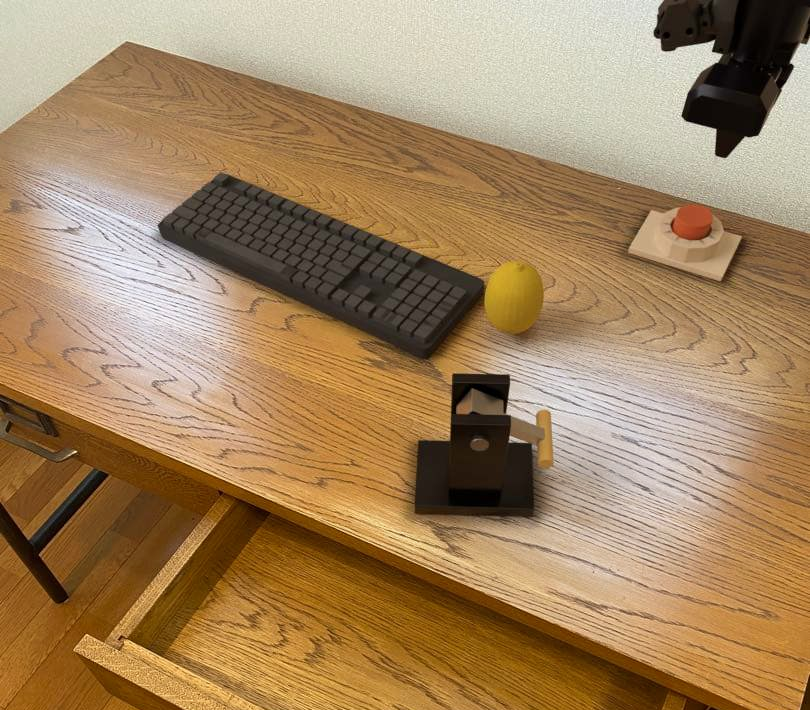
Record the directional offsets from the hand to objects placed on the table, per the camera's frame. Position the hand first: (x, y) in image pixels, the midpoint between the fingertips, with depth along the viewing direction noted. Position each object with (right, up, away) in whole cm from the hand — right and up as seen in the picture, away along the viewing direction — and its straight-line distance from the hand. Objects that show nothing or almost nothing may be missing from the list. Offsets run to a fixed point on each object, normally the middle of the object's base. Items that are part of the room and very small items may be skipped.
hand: (721, 155), depth 69 cm
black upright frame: (-23, -30, -4) cm, 39 cm away
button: (0, -3, +9) cm, 9 cm away
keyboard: (-39, -6, +11) cm, 41 cm away
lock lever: (-22, -27, -10) cm, 36 cm away
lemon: (-19, -15, +5) cm, 25 cm away
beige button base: (+1, -4, +11) cm, 11 cm away
